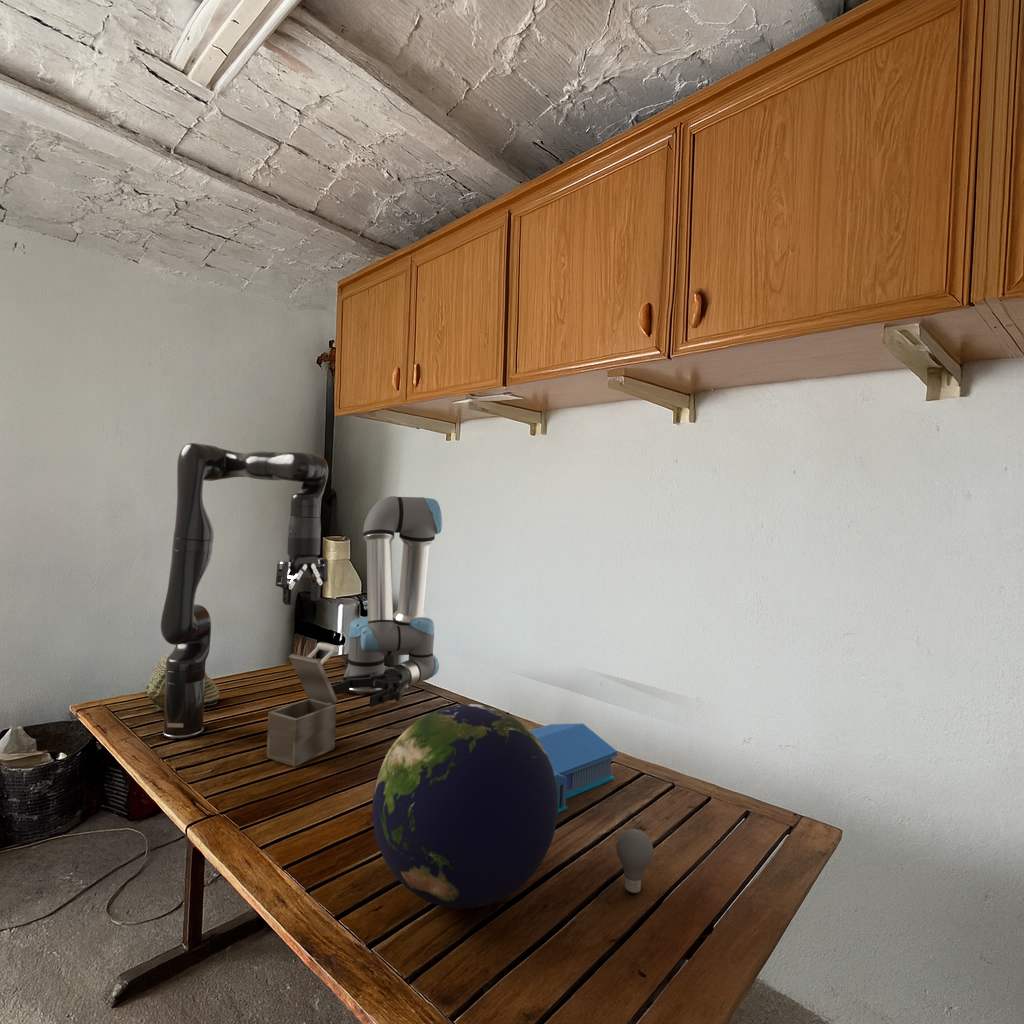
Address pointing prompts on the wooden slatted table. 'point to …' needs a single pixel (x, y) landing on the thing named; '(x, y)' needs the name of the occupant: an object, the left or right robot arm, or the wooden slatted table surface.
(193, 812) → the wooden slatted table surface
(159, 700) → the fossil
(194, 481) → the left robot arm
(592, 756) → the model building
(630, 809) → the wooden slatted table surface
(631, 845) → the light bulb
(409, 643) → the right robot arm
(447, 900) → the globe
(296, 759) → the chest
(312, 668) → the lid
